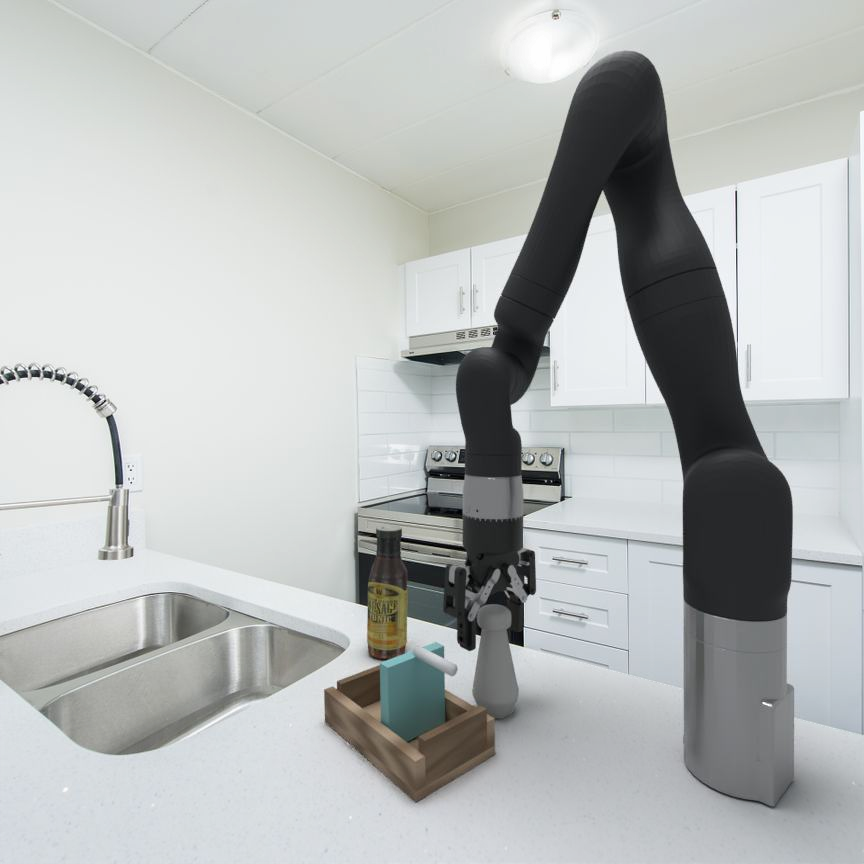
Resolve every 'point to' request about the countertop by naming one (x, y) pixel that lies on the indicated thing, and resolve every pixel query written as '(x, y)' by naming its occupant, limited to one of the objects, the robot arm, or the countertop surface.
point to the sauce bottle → (387, 597)
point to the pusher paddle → (414, 690)
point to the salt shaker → (495, 663)
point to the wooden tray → (419, 757)
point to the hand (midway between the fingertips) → (491, 638)
